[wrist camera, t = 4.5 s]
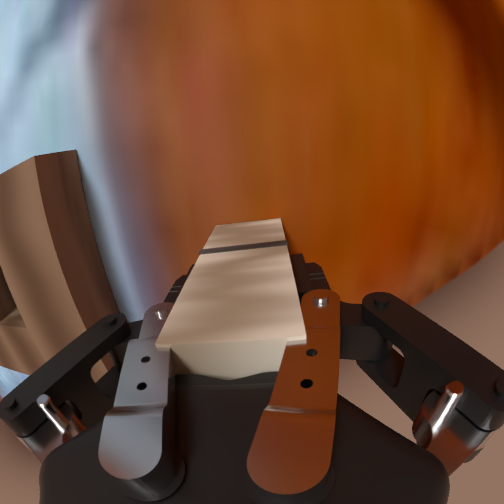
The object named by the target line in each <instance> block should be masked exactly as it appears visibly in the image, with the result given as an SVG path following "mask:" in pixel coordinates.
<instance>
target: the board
mask: <svg viewBox="0 0 504 504" xmlns="http://www.w3.org/2000/svg"><path fill="white" fill-rule="evenodd" d="M114 313H119V310H118V308H117V305H116V302H115V300H114V297H113V294H112V291H111V288H110V286H109V283H108V280H107V277H106V274H105V271H104V268H103V264H102V261H101V258H100V255H99V251H98V248H97V244H96V241H95V237H94V234H93V230H92V226H91V222H90V218H89V214H88V210H87V206H86V201H85V196H84V192H83V187H82V182H81V176H80V171H79V165H78V159H77V152H76V150H70V151H63V152H56V153H50V154H44V155H38V156H34V157H32V158H30V159H28V160H26V161H24V162H22V163H20V164H18V165H16V166H14V167H13V168H11V169H9V170H7V171H6V172H4V173H2V174H0V366H3V367H5V368H8V369H11V370H14V371H17V372H21V373H24V374H27V375H31V374H32V373H34V372H35V371H36V370H37V369H38V368H40V367H41V366H42V365H43V364H45V363H46V362H47V361H48V360H49V359H51V358H52V357H53V356H54V355H56V354H57V353H58V352H59V351H61V350H62V349H63V348H64V347H66V346H67V345H68V344H69V343H71V342H72V341H73V340H74V339H76V338H77V337H78V336H79V335H81V334H82V333H83V332H85V331H86V330H87V329H88V328H90V327H91V326H92V325H94V324H95V323H96V322H97V321H99V320H100V319H101V318H103V317H105V316H107V315H110V314H114ZM113 366H114V365H113V363H112V361H111V359H110V357H109V355H108V353H107V354H106V355H105V356H104V357H103V358H101V359H100V360H99V361H98V362H97V363H96V364H95V365H94V366H93V367H92V369H91V377H92V379H93V380H94V382H95V383H96V382H97V381H98V380H99V379H100V378H101V377H102V376H103V375H104V374H105V373H106V372H108V371H109V370H110V369H111V368H112V367H113Z"/></svg>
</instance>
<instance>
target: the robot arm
mask: <svg viewBox="0 0 504 504" xmlns="http://www.w3.org/2000/svg"><path fill="white" fill-rule="evenodd" d="M289 257H290V261H291V265H292V270H293V274H294V279H295V284H296V288H297V293H298V297H299V302H300V307H301V312H302V317H303V321H304V326H305V331H306V339H305V340H296V341H287V343H286V347H285V350H284V354H283V358H282V361H281V365H280V368H279V371H275V372H263V373H259V374H255V375H251V376H247V377H242V378H238V379H233V380H224V379H218V378H213V377H208V376H203V375H183V374H175V370H176V366H177V364H176V362H175V359H174V357H173V354H172V352H171V349H170V347H156V345H155V343H156V341H157V338H158V336H159V334H160V332H161V330H162V328H163V326H164V324H165V322H166V320H167V318H168V316H169V314H170V312H171V310H172V308H173V306H174V304H175V302H176V300H177V298H178V296H179V294H180V292H181V290H182V288H183V286H184V284H185V282H186V280H187V279H188V277H189V275H190V273H191V271H192V269H193V267H194V265H195V264H193V265H192V266H191V268H190V270H189V272H188V273H187V275H183V276H181V277H180V278H179V279H177V280H176V281H175V283H174V285H173V287H172V288H171V290H170V292H169V293H168V295H167V297H166V299H165V300H164V302H163V303H159V304H156V305H154V306H152V307H150V308H149V309H148V310H147V311H146V312H145V314H144V318H143V320H140V321H136V322H131V323H128V322H127V319H126V317H125V315H123V314H121V313H114V314H110V315H107V316H105V317H103V318H101V319H100V320H99V321H97V322H96V323H95V324H94V325H92V326H91V327H90V328H88V329H87V330H86V331H85V332H83V333H82V334H81V335H79V336H78V337H77V338H76V339H74V340H73V341H72V342H71V343H69V344H68V345H67V346H66V347H64V348H63V349H62V350H61V351H59V352H58V353H57V354H56V355H54V356H53V357H52V358H51V359H49V360H48V361H47V362H46V363H45V364H43V365H42V366H41V367H40V368H38V369H37V370H36V371H35V372H34V373H32V374H31V375H30V376H29V377H28V378H26V379H25V380H24V381H23V382H22V383H21V384H19V385H18V386H17V387H16V388H15V389H13V390H12V391H11V392H10V393H9V394H8V395H7V396H5V397H4V398H3V399H2V401H1V402H0V418H1V419H2V420H3V421H4V423H5V424H6V425H7V426H8V427H9V428H10V429H11V430H12V431H13V433H14V435H15V436H16V437H17V438H18V439H19V440H20V441H21V442H22V443H24V445H25V446H26V447H27V448H28V449H30V451H32V452H33V454H34V455H35V456H36V457H37V459H38V460H39V461H40V462H41V463H42V465H41V469H40V474H39V485H40V503H39V504H447V501H448V497H449V490H450V489H449V488H450V484H449V476H450V475H451V474H452V473H453V472H454V471H455V470H456V469H457V468H458V467H459V466H461V465H462V463H466V462H469V461H471V460H472V459H473V458H474V457H475V456H476V455H477V454H478V453H479V452H480V451H481V450H482V449H483V448H484V447H485V446H486V444H487V443H488V442H489V441H490V440H491V439H492V438H493V436H494V435H495V434H496V433H497V432H498V430H499V429H500V428H501V427H502V425H503V424H504V370H502V369H501V368H500V367H498V366H497V365H495V364H494V363H493V362H491V361H490V360H488V359H487V358H486V357H484V356H483V355H482V354H480V353H479V352H477V351H476V350H474V349H473V348H472V347H470V346H469V345H468V344H466V343H465V342H463V341H462V340H460V339H459V338H457V337H456V336H454V335H453V334H452V333H450V332H449V331H447V330H446V329H444V328H443V327H441V326H439V325H438V324H437V323H435V322H434V321H432V320H431V319H429V318H428V317H426V316H425V315H423V314H422V313H420V312H419V311H417V310H416V309H414V308H413V307H411V306H410V305H408V304H407V303H405V302H404V301H402V300H400V299H399V298H397V297H396V296H394V295H392V294H390V293H385V292H374V293H370V294H368V295H366V296H365V297H364V298H363V300H362V304H350V303H345V302H342V301H340V297H339V295H338V294H337V293H336V292H334V291H331V289H330V287H329V284H328V282H327V280H326V278H325V275H324V273H323V270H322V268H321V266H319V265H318V264H316V263H305V261H304V258H303V255H302V254H293V255H289ZM393 344H394V345H395V346H396V347H398V348H399V349H400V350H401V352H402V353H403V355H404V357H402V355H400V354H399V353H398V352H397V351H396V350H394V349H393V348H392V345H393ZM107 353H108V355H109V357H110V359H111V361H112V363H113V365H114V366H113V367H112V368H111V369H110V370H109V371H108V372H106V373H105V374H104V375H103V376H102V377H101V378H100V379H99V380H98V381H97V382H96V383H95V382H94V380H93V379H92V377H91V369H92V367H93V366H94V365H95V364H96V363H97V362H98V361H99V360H100V359H101V358H103V357H104V356H105V355H106V354H107ZM339 359H351V360H356V362H357V364H358V365H359V366H360V368H361V369H362V370H363V371H364V372H365V373H366V374H367V375H368V376H369V377H370V378H371V379H372V380H373V381H374V382H375V383H376V384H377V385H378V386H379V387H380V388H381V389H382V390H383V391H384V392H385V393H386V394H387V395H388V396H389V397H390V399H392V400H393V402H394V403H395V404H396V405H398V407H399V408H400V409H401V410H402V411H403V412H404V413H405V414H406V415H407V416H408V417H409V418H410V419H411V420H412V421H413V426H412V433H413V436H414V438H415V439H416V441H417V444H415V443H414V442H412V441H410V440H409V439H407V438H405V437H404V436H402V435H400V434H399V433H397V432H395V431H394V430H392V429H391V428H389V427H388V426H386V425H384V424H383V423H381V422H380V421H378V420H377V419H375V418H373V417H372V416H371V415H369V414H367V413H366V412H364V411H363V410H361V409H360V408H358V407H357V406H355V405H354V404H352V403H351V402H349V401H348V400H347V399H345V398H344V397H342V396H341V395H339V394H338V393H337V390H338V376H339Z"/></svg>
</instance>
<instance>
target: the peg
mask: <svg viewBox="0 0 504 504" xmlns="http://www.w3.org/2000/svg"><path fill="white" fill-rule="evenodd" d="M305 339H306V331H305V326H304V321H303V317H302V312H301V307H300V302H299V297H298V293H297V288H296V284H295V279H294V274H293V270H292V265H291V261H290V257H289V249H288V242H287V240H286V239H285V235H284V231H283V227H282V222H281V218H278V219H269V220H260V221H251V222H242V223H234V224H226V225H218V226H215V228H214V230H213V232H212V233H211V235H210V237H209V239H208V241H207V243H206V244H205V246H204V248H203V249H201V250H200V252H199V258H198V259H197V261H196V263H195V265H194V267H193V269H192V271H191V273H190V275H189V277H188V279H187V280H186V282H185V284H184V286H183V288H182V290H181V292H180V294H179V296H178V298H177V300H176V302H175V304H174V306H173V308H172V310H171V312H170V314H169V316H168V318H167V320H166V322H165V324H164V326H163V328H162V330H161V332H160V334H159V336H158V338H157V341H156V343H155V345H156V347H170V349H171V352H172V354H173V357H174V359H175V362H176V364H177V366H176V370H175V374H183V375H203V376H208V377H213V378H218V379H224V380H233V379H238V378H242V377H247V376H251V375H255V374H259V373H263V372H275V371H279V368H280V365H281V361H282V358H283V354H284V350H285V347H286V343H287V341H296V340H305Z"/></svg>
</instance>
